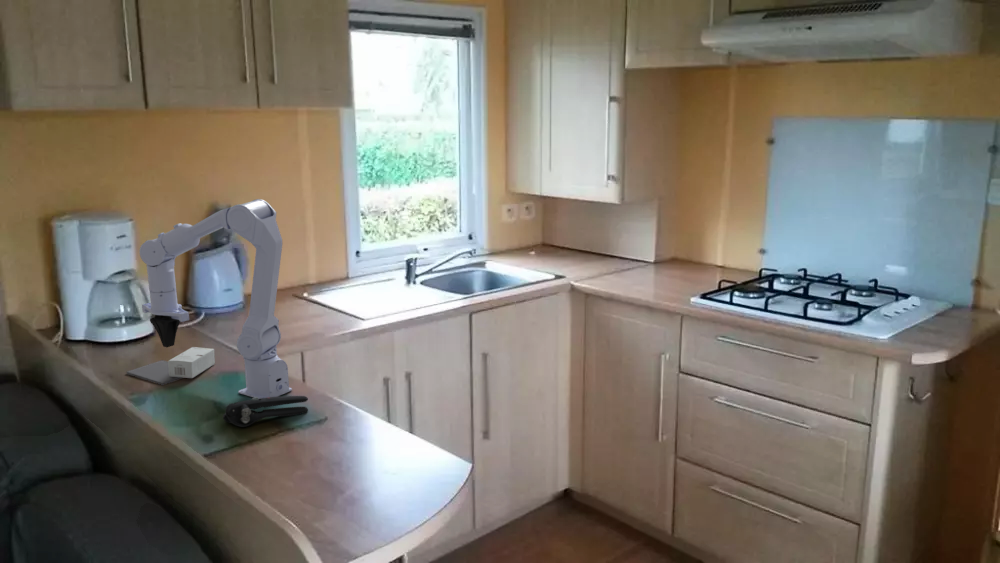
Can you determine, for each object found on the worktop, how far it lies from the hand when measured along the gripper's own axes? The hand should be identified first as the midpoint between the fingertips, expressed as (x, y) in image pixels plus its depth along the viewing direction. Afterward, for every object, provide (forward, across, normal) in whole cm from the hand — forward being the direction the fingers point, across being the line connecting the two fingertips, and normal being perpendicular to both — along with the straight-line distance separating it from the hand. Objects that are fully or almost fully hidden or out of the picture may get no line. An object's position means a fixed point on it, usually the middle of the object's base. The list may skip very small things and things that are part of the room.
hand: (168, 345), depth 188 cm
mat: (+9, +8, -3) cm, 13 cm away
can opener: (+10, -35, +2) cm, 36 cm away
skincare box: (+7, -1, -2) cm, 7 cm away
